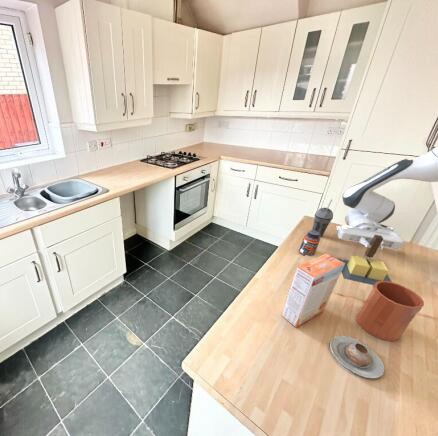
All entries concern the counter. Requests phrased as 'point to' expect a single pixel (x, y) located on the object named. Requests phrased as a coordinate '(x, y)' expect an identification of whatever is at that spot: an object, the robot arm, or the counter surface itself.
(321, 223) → the beverage cup
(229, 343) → the counter surface
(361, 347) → the grey lid
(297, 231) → the counter surface
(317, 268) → the cracker box
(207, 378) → the counter surface
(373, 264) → the butter
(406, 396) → the counter surface
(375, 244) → the knife
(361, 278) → the butter dish
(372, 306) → the crock
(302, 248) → the supplement bottle
